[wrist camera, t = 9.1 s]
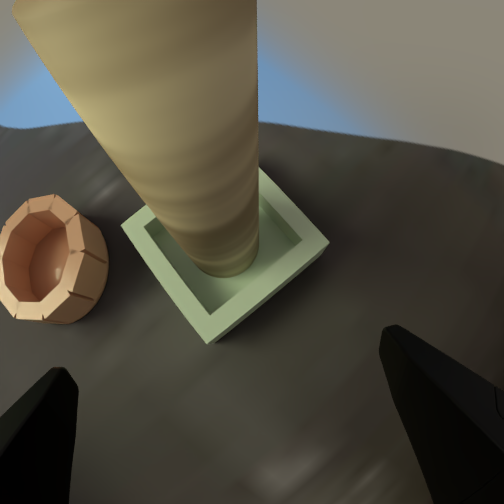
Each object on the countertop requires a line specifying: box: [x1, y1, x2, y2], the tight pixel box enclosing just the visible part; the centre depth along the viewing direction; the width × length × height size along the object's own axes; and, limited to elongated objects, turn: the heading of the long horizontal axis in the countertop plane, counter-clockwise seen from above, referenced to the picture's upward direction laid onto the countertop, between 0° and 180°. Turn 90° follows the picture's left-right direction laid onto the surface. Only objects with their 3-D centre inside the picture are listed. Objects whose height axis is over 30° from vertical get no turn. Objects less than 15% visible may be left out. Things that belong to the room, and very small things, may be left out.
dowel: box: [12, 0, 259, 278], centre depth 11 cm, size 4×4×16 cm
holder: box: [0, 194, 109, 324], centre depth 17 cm, size 8×8×4 cm
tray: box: [121, 168, 330, 344], centre depth 18 cm, size 8×8×3 cm
